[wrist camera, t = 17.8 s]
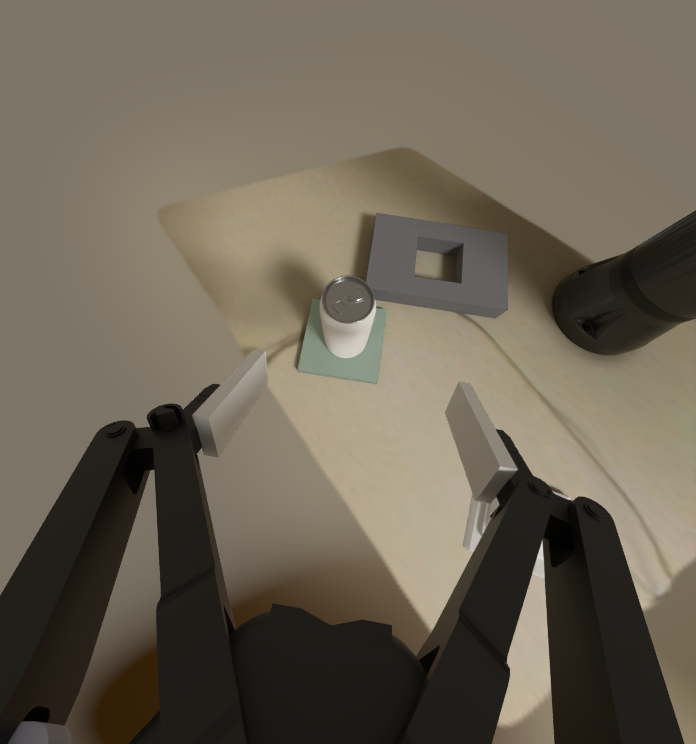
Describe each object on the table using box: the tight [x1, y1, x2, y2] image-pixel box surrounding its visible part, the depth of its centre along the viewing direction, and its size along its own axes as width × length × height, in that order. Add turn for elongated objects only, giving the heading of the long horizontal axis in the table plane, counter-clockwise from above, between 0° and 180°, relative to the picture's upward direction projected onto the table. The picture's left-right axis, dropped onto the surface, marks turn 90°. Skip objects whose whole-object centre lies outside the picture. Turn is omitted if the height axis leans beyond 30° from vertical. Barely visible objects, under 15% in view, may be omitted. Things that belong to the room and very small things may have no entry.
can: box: [320, 276, 376, 358], centre depth 32 cm, size 6×6×12 cm
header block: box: [366, 213, 508, 318], centre depth 41 cm, size 22×14×3 cm, turn 81°
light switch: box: [463, 491, 570, 579], centre depth 33 cm, size 11×4×13 cm
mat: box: [298, 298, 387, 384], centre depth 38 cm, size 12×12×1 cm
